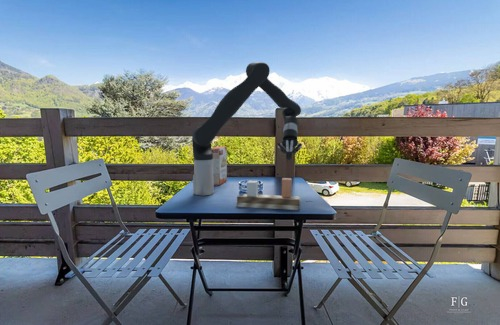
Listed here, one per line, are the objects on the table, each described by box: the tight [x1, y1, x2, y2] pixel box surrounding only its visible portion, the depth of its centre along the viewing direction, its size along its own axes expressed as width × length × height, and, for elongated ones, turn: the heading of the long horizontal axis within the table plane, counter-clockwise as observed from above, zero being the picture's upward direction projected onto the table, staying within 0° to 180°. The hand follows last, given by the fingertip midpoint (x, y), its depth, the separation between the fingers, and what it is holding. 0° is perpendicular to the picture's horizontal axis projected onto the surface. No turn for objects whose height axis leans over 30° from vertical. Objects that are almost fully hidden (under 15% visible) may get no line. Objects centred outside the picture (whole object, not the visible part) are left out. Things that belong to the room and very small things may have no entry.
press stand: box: [236, 193, 301, 211], centre depth 119 cm, size 26×15×4 cm, turn 78°
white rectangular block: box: [246, 179, 259, 197], centre depth 117 cm, size 4×4×8 cm
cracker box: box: [211, 146, 228, 186], centre depth 158 cm, size 14×6×21 cm, turn 168°
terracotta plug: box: [281, 177, 293, 198], centre depth 122 cm, size 4×4×8 cm
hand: (288, 159), depth 135 cm, fingers closed
